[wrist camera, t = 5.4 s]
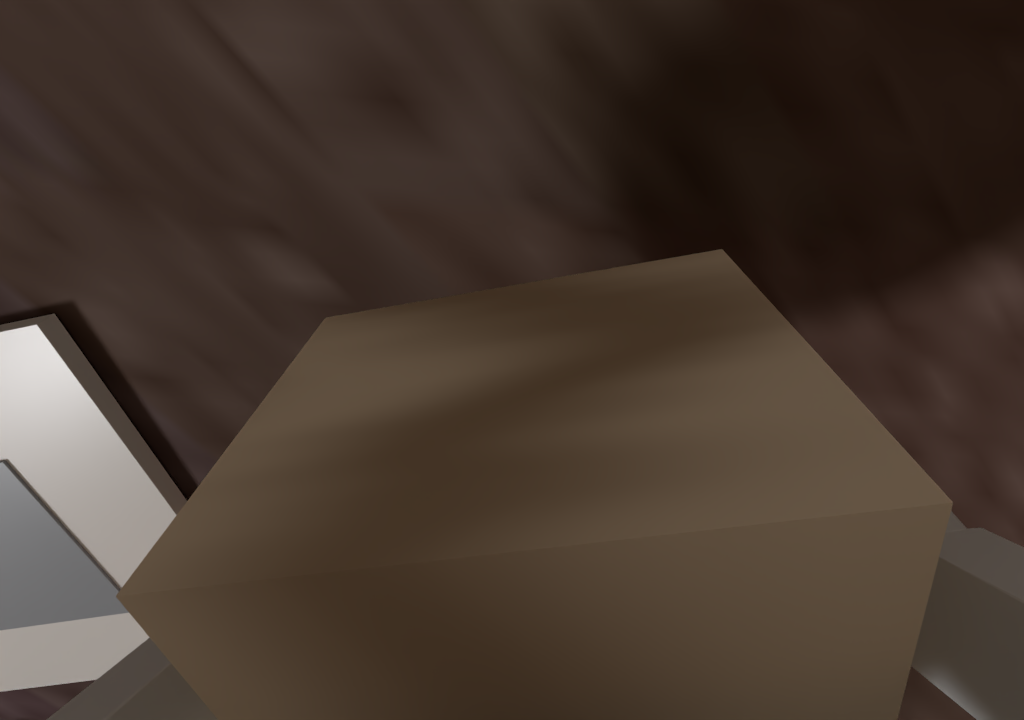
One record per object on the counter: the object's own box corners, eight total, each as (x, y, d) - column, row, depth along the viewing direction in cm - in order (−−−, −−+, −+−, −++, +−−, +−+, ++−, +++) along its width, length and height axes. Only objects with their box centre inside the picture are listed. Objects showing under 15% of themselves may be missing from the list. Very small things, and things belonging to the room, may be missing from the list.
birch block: (721, 249, 8) (953, 503, 4) (725, 542, 11) (856, 881, 6) (325, 317, 9) (115, 596, 4) (428, 575, 12) (365, 897, 7)
